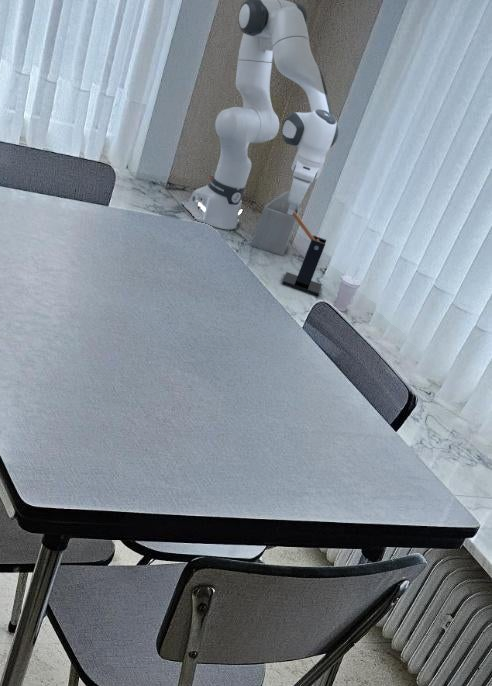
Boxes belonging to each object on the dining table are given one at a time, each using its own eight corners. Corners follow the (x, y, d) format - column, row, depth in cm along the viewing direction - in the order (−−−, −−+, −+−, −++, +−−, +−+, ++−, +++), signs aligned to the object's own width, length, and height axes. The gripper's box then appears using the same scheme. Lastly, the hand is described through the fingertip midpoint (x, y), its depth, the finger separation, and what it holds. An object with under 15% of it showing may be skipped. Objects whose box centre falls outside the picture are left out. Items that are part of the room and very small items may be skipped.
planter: (264, 255, 335) (284, 199, 324) (250, 244, 340) (269, 189, 329) (299, 255, 345) (319, 201, 334) (285, 245, 349) (304, 191, 338)
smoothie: (349, 315, 312) (366, 274, 304) (329, 308, 312) (346, 267, 304) (349, 307, 317) (366, 267, 309) (330, 301, 317) (346, 260, 309)
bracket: (282, 284, 318) (299, 237, 309) (285, 275, 325) (302, 229, 316) (317, 296, 317) (336, 250, 308) (320, 287, 325) (338, 241, 316)
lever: (285, 211, 308) (291, 206, 307) (286, 207, 312) (293, 202, 311) (315, 253, 312) (322, 248, 311) (317, 248, 316) (323, 244, 315)
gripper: (300, 156, 311) (284, 199, 319) (293, 171, 294) (277, 216, 302) (319, 163, 311) (303, 205, 318) (314, 178, 294) (297, 223, 301)
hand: (290, 211), depth 310 cm, fingers closed on lever, 5 cm apart
